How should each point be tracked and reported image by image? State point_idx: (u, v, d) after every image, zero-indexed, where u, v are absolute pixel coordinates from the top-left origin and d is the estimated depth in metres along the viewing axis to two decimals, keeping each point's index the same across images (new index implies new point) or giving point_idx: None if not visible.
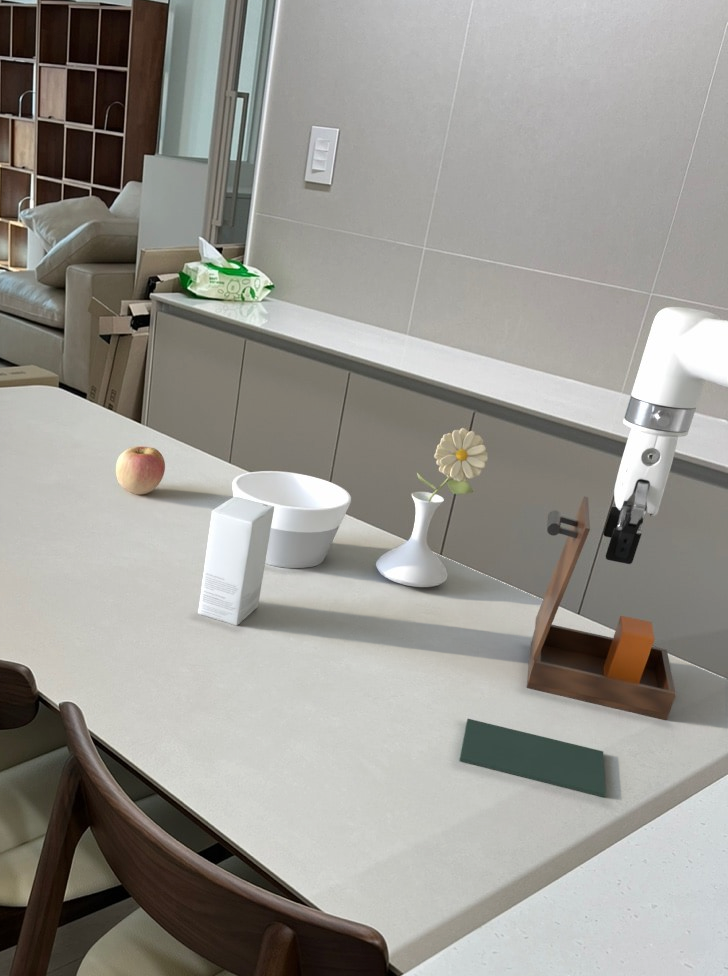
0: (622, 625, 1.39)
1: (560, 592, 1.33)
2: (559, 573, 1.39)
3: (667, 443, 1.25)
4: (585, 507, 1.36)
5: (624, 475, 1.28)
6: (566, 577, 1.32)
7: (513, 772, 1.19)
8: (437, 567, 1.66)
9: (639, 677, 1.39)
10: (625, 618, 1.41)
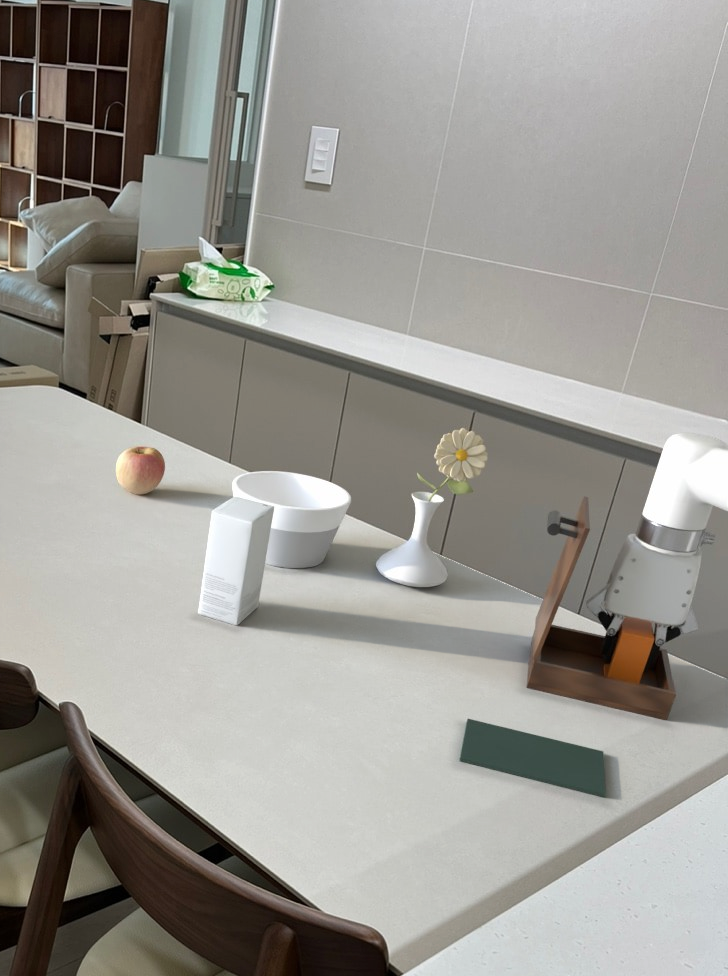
0: (622, 625, 1.39)
1: (560, 592, 1.33)
2: (559, 573, 1.39)
3: None
4: (585, 507, 1.36)
5: (684, 596, 1.33)
6: (566, 577, 1.32)
7: (513, 772, 1.19)
8: (437, 567, 1.66)
9: (639, 677, 1.39)
10: (625, 618, 1.41)
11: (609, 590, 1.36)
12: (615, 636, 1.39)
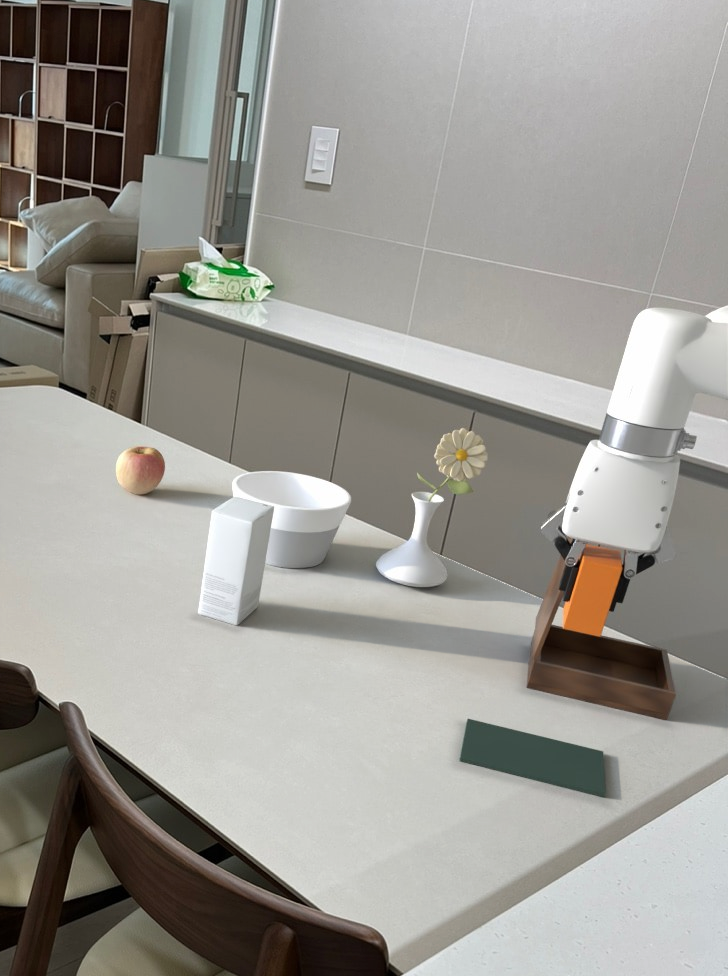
0: (584, 553, 1.14)
1: (560, 592, 1.33)
2: (559, 573, 1.39)
3: None
4: None
5: (659, 515, 1.08)
6: None
7: (513, 772, 1.19)
8: (437, 567, 1.66)
9: (605, 617, 1.13)
10: (588, 546, 1.16)
11: (567, 508, 1.11)
12: (575, 567, 1.14)
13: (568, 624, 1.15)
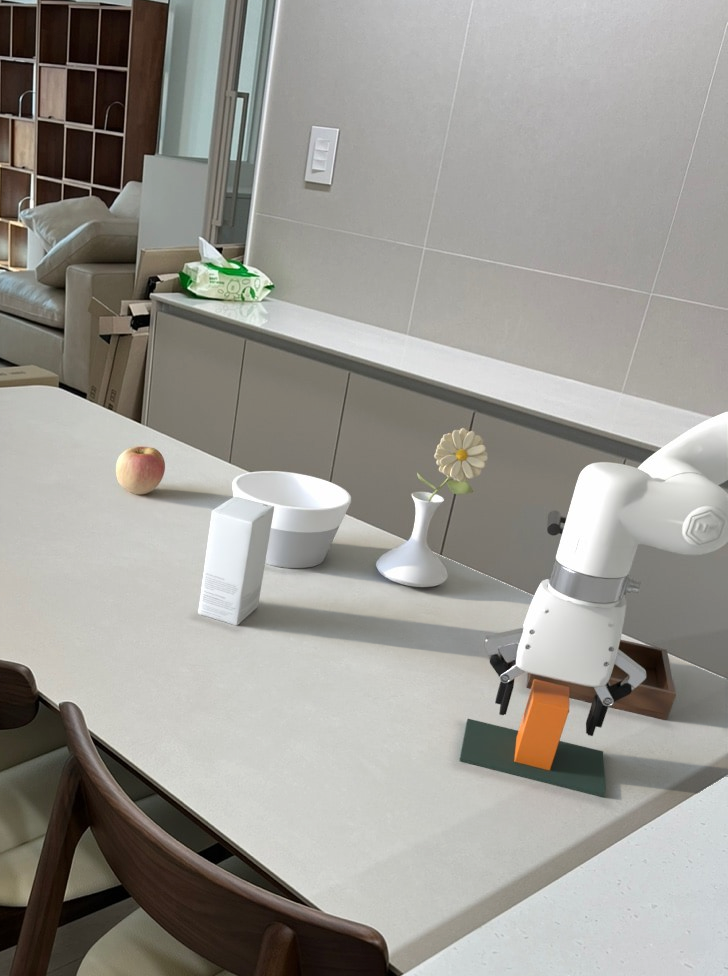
0: (533, 692, 1.19)
1: None
2: None
3: None
4: None
5: (607, 654, 1.13)
6: None
7: (513, 772, 1.19)
8: (437, 567, 1.66)
9: (553, 753, 1.19)
10: (539, 682, 1.21)
11: (520, 645, 1.16)
12: (510, 683, 1.19)
13: (519, 758, 1.20)
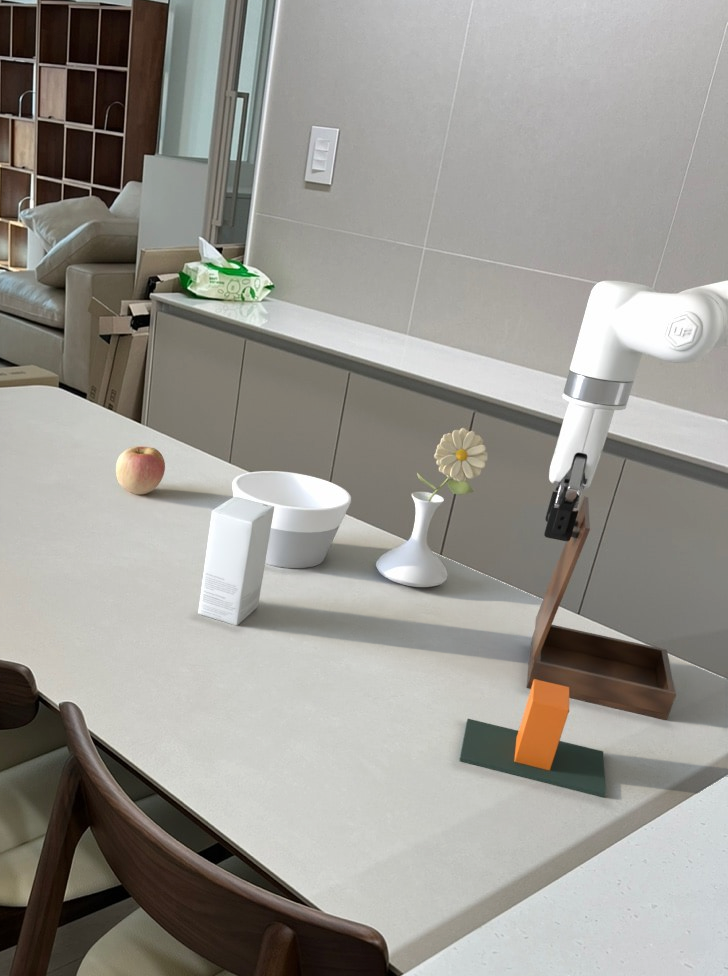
0: (533, 692, 1.19)
1: (560, 592, 1.33)
2: (559, 573, 1.39)
3: None
4: (585, 507, 1.36)
5: None
6: (566, 577, 1.32)
7: (513, 772, 1.19)
8: (437, 567, 1.66)
9: (553, 753, 1.19)
10: (539, 682, 1.21)
11: (592, 467, 1.28)
12: None
13: (519, 758, 1.20)
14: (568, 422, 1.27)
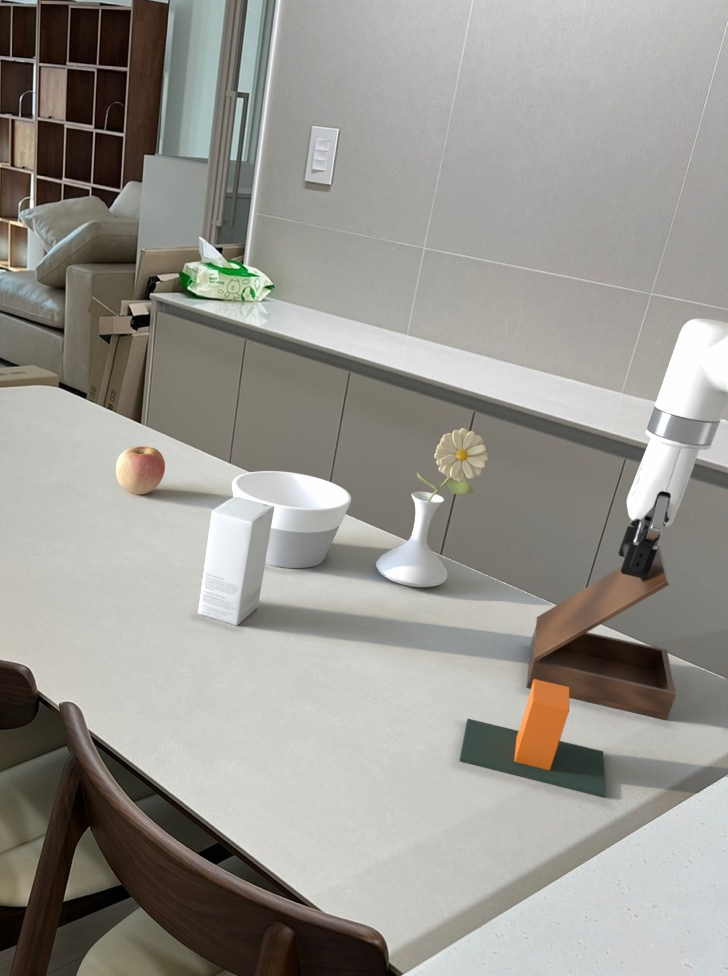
0: (533, 692, 1.19)
1: (601, 619, 1.33)
2: (598, 598, 1.39)
3: None
4: (661, 558, 1.36)
5: None
6: (617, 610, 1.32)
7: (513, 772, 1.19)
8: (437, 567, 1.66)
9: (553, 753, 1.19)
10: (539, 682, 1.21)
11: (675, 506, 1.27)
12: None
13: (519, 758, 1.20)
14: (653, 460, 1.26)
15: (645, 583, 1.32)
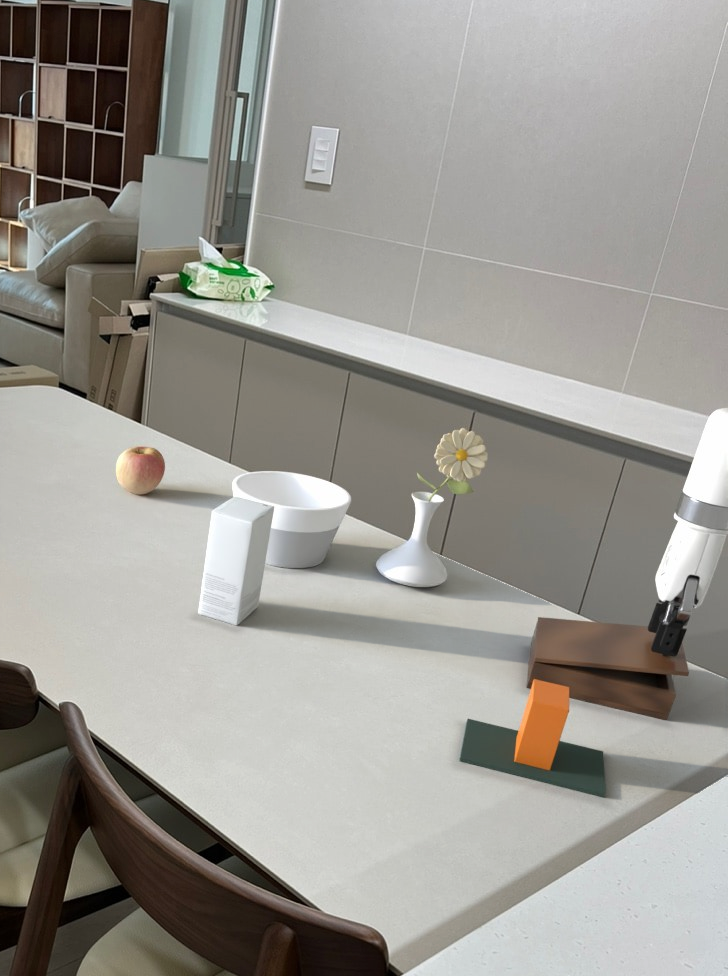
0: (533, 692, 1.19)
1: (614, 666, 1.35)
2: (611, 642, 1.41)
3: None
4: (682, 645, 1.40)
5: None
6: (632, 667, 1.34)
7: (513, 772, 1.19)
8: (437, 567, 1.66)
9: (553, 753, 1.19)
10: (539, 682, 1.21)
11: (704, 589, 1.29)
12: None
13: (519, 758, 1.20)
14: (682, 545, 1.29)
15: (665, 660, 1.35)
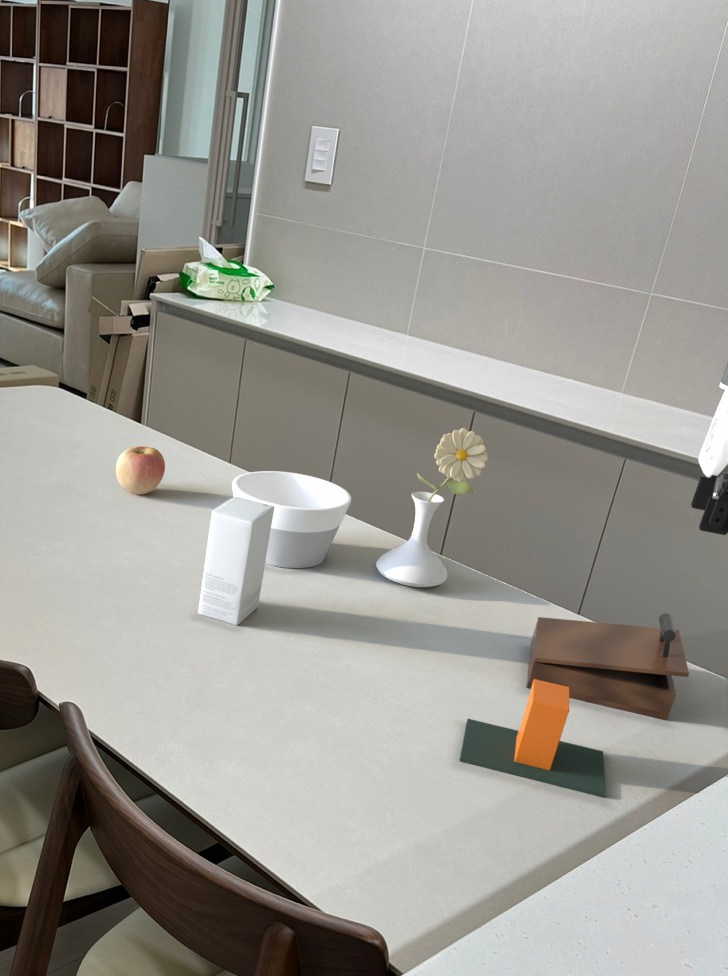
0: (533, 692, 1.19)
1: (614, 666, 1.35)
2: (611, 642, 1.41)
3: None
4: (682, 645, 1.40)
5: None
6: (632, 668, 1.34)
7: (513, 772, 1.19)
8: (437, 567, 1.66)
9: (553, 753, 1.19)
10: (539, 682, 1.21)
11: None
12: None
13: (519, 758, 1.20)
14: None
15: (665, 660, 1.35)
